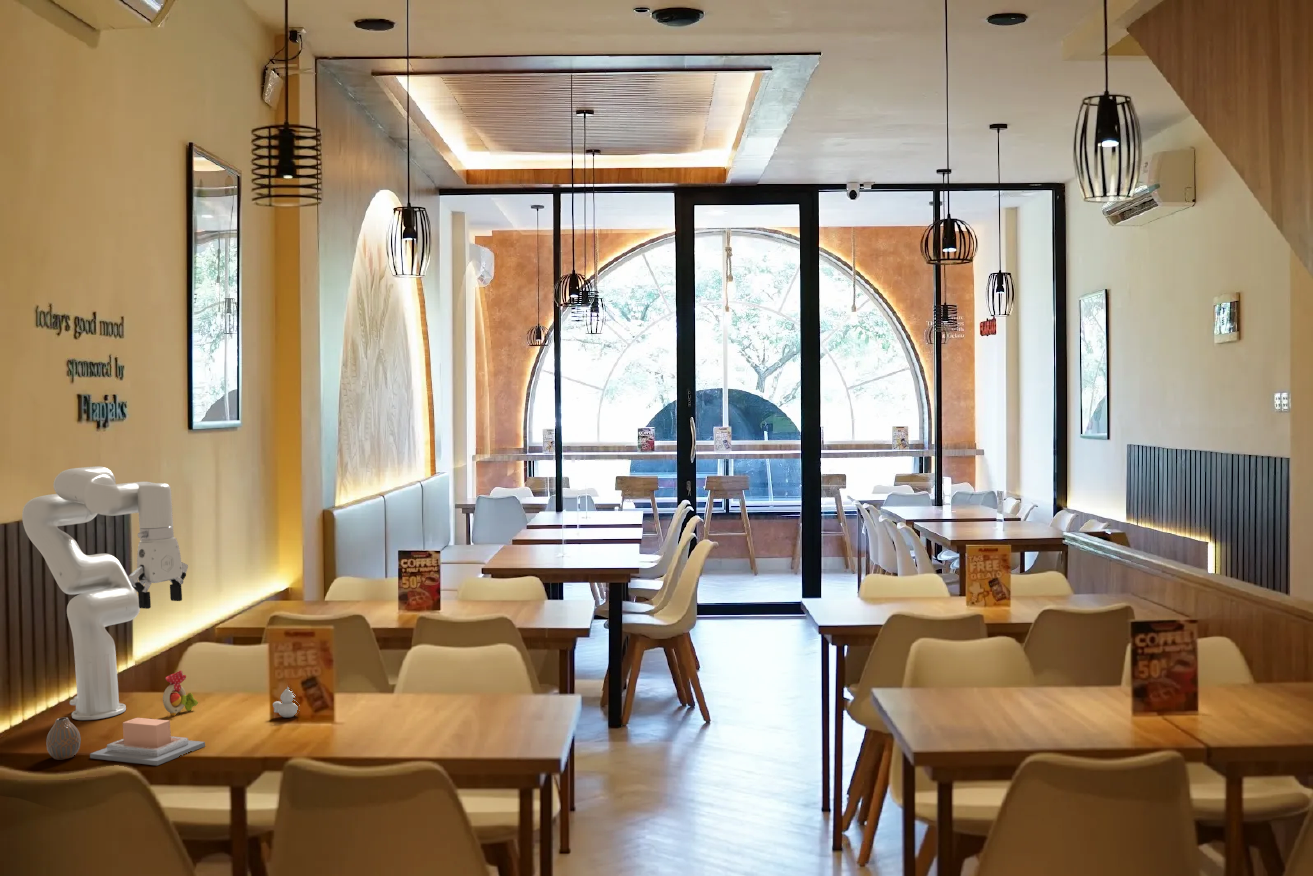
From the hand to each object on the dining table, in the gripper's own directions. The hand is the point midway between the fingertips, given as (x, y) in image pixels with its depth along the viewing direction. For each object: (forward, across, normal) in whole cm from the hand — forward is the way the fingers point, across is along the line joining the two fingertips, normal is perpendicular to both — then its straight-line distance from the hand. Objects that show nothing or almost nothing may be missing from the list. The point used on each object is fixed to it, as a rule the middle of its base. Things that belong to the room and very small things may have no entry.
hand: (160, 604), depth 285 cm
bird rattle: (+30, +10, +7) cm, 33 cm away
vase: (+30, -26, +4) cm, 40 cm away
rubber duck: (+30, +14, -24) cm, 41 cm away
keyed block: (+29, -18, -12) cm, 36 cm away
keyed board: (+30, -18, -12) cm, 37 cm away
